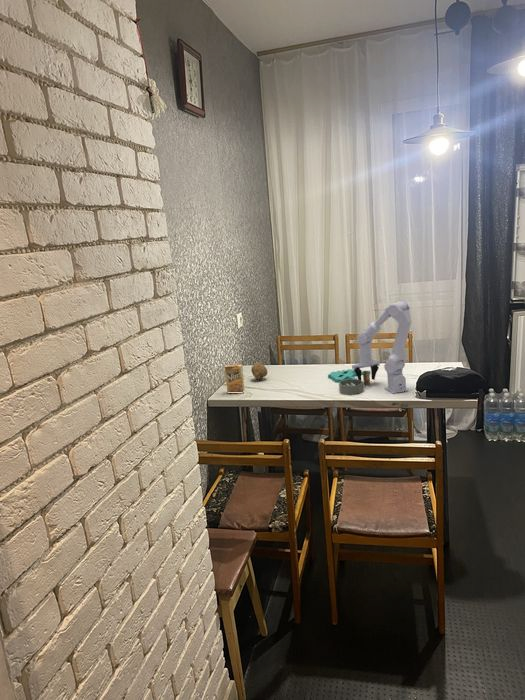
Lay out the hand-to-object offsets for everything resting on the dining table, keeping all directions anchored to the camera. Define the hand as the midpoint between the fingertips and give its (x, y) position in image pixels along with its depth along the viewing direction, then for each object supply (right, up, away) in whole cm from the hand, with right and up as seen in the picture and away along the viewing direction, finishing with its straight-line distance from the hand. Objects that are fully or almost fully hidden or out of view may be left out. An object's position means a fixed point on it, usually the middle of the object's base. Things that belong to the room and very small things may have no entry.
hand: (366, 380), depth 259 cm
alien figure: (-7, 0, +16) cm, 18 cm away
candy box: (-68, -7, +7) cm, 69 cm away
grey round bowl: (-9, -5, -7) cm, 13 cm away
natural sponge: (-55, -1, +26) cm, 61 cm away
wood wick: (0, -2, +1) cm, 2 cm away
